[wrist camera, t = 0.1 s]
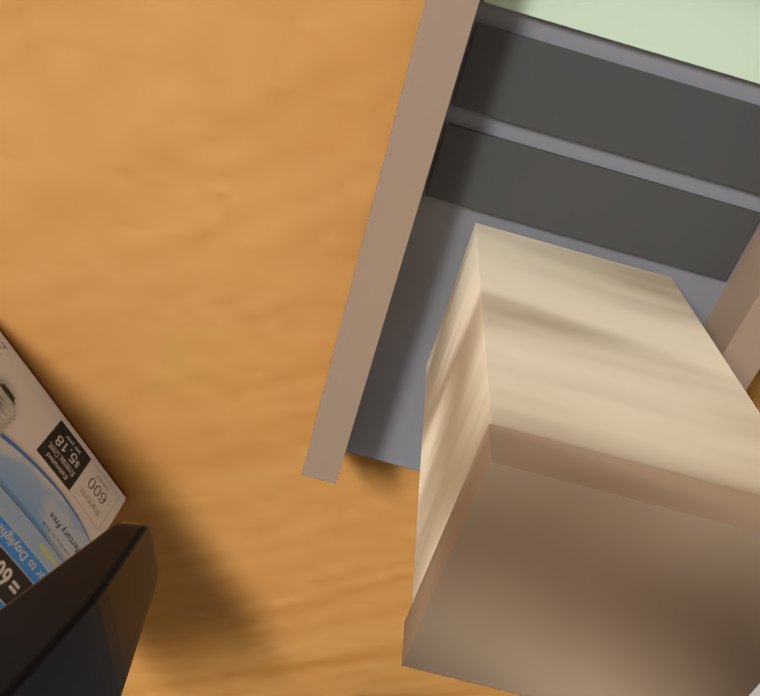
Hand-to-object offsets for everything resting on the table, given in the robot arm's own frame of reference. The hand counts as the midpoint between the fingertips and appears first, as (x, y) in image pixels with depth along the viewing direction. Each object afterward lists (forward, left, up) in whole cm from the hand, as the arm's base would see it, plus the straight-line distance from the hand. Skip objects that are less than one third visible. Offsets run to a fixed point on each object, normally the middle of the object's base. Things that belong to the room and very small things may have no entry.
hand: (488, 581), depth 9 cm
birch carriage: (-3, -3, -13) cm, 14 cm away
